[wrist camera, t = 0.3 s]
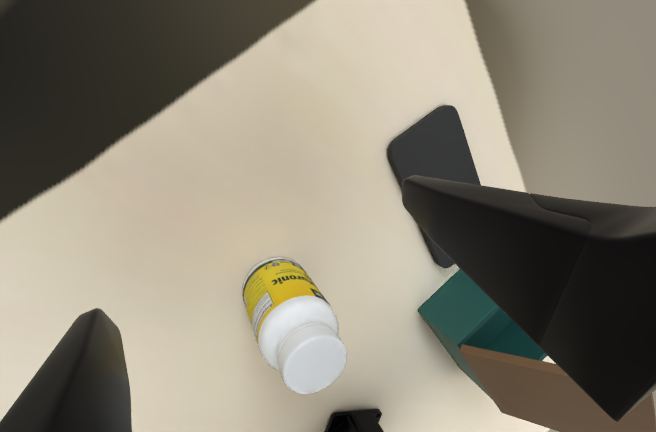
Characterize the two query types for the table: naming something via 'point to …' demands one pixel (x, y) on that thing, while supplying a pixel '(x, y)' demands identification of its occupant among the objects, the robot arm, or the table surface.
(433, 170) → the phone
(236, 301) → the table surface
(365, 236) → the table surface
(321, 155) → the table surface
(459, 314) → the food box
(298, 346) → the supplement bottle
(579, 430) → the lid
